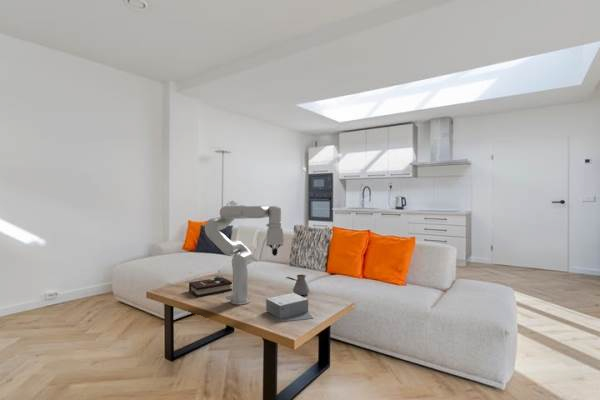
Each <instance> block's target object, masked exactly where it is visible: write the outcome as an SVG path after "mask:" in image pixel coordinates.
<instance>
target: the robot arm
mask: <svg viewBox="0 0 600 400" xmlns="http://www.w3.org/2000/svg"><path fill="white" fill-rule="evenodd" d="M265 218H268V223H267V224H266V227H267V230H266V247H269V248H271V253H272V255H273V256H275V257H276V256H277V255H278V249H279V248H280V247H283V246H284V231H283V228H282V209H281V206H279V205H278V206H277V205H275V206H274V205H272V206H270V205H253V206H252V205H250V206H249V205H225V206H222V207H221V208H220V209H219V217H213V218H210V219H208V220H207V221H206V222H205V224H204V232H205V235H206V237H207V238H208V239H209V240H210V241H211V242H212V243H213V244H215V245H216V247H217V248H219V250H221V252H222V253H223V254H224V255H225V256H229V257H230V256H233V257H232V258H231V267H232V294H231V295H226V296H225V300H228V301H229V300H230V301H229V302H230V303H231V304H233V305H239V306H241V305H246V304H248V303H250V302H251V298H250V297H249V271H248V267H247V266H248V265H250V264H252V262H254V261H253V260H254V254H253V253H252V251H251V250H250V249H249V248H248V247H247V246H246V245H245V244H243V242H241V241H240V240H239V239H230V238H229V237H228V236H226V235H225V234H224V233H223V232H221V230H224V229H226V228H227V227H228V226H230V224H232V222H233V221H234V220H235V219H237V220H240V219H241V220H242V219H243V220H244V219H265Z"/></svg>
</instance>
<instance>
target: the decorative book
mask: <svg viewBox="0 0 600 400" xmlns="http://www.w3.org/2000/svg"><path fill="white" fill-rule="evenodd" d="M232 285H233V281H231V280H229V279H228V278H225V277H223V276H218V275H217V276H215V277H213V278H208V279H203V280H197V281H191V282H188V292H189V293H190V294H192V295H193V296H194V297H196V298H202V297H206V296H212V295H217V294H221V293H222V294H223V293H226V292H227V293H228V292H231V291H232V292H233V288H232Z"/></svg>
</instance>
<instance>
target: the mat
mask: <svg viewBox="0 0 600 400" xmlns="http://www.w3.org/2000/svg"><path fill="white" fill-rule="evenodd" d="M274 317H275V320H276V322H277V323H285V322H291V321H294V322H295V321H303V320H311V319H313V320H314V317H313V316H312V315H311V313H310V312H309V311H308V312H304V313H300V314H297V315H293V316H289V317H286V318H282V319H279V318H277V317H276V316H274Z"/></svg>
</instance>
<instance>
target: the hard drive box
mask: <svg viewBox="0 0 600 400" xmlns="http://www.w3.org/2000/svg"><path fill="white" fill-rule="evenodd" d="M265 309H266V310H265V311H266V312H268V313H269V314H271V315H272V316H274V317H275V316H276V317H277V318H279V319H282V318H286V317H289V316H293V315H297V314H300V313H304V312H309V299H308V298H306V297H304V296H300V295H297V294H295V293H294V292H291V293H286V294H282V295H277V296H272V297H268V298H266V300H265Z"/></svg>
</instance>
